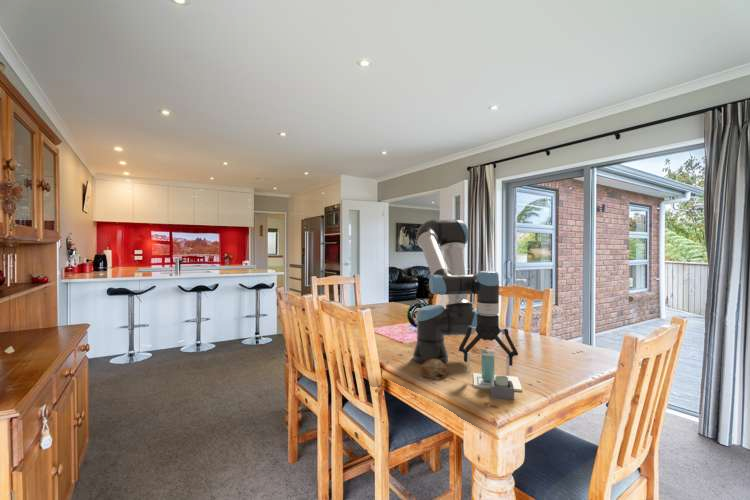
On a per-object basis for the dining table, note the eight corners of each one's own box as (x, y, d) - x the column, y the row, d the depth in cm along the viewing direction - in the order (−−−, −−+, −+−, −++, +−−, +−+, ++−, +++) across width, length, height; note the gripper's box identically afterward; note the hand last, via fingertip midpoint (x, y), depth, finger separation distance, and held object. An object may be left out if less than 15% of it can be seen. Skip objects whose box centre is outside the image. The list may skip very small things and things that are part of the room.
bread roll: (427, 389, 131) (432, 373, 128) (414, 369, 140) (418, 354, 137) (449, 385, 135) (454, 369, 132) (435, 366, 144) (440, 350, 141)
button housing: (491, 397, 115) (491, 386, 115) (490, 389, 122) (490, 379, 122) (514, 399, 114) (514, 388, 113) (511, 391, 120) (511, 381, 120)
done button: (495, 391, 116) (495, 379, 116) (495, 386, 120) (494, 374, 120) (508, 392, 115) (508, 380, 115) (507, 387, 119) (507, 376, 119)
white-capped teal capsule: (481, 382, 126) (481, 352, 126) (481, 378, 130) (481, 349, 130) (494, 384, 124) (494, 353, 124) (494, 379, 129) (494, 350, 129)
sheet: (473, 387, 124) (473, 384, 124) (473, 375, 136) (473, 372, 136) (522, 391, 120) (522, 389, 120) (517, 379, 131) (517, 376, 131)
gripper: (452, 314, 127) (451, 372, 127) (526, 317, 120) (526, 379, 120) (452, 310, 134) (452, 366, 134) (523, 313, 127) (523, 371, 128)
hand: (487, 372), depth 127 cm, fingers open, 13 cm apart
